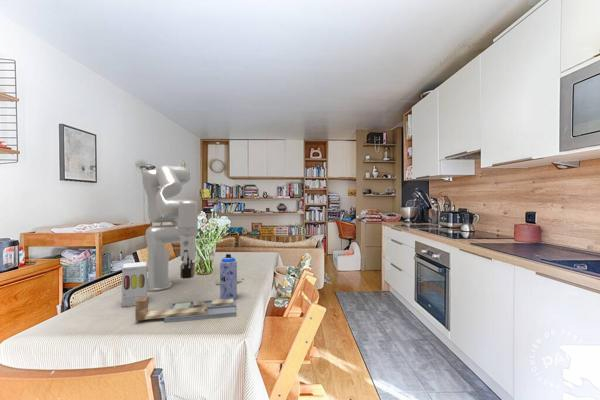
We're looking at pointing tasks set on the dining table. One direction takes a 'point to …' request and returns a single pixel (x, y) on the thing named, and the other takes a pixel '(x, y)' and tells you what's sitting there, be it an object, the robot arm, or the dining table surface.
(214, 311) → the slate board
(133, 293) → the supplement box
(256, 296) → the dining table surface
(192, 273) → the walnut block
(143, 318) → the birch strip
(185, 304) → the felt coaster
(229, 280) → the aerosol can
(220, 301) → the broken strip
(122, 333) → the dining table surface
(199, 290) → the dining table surface
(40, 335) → the dining table surface
